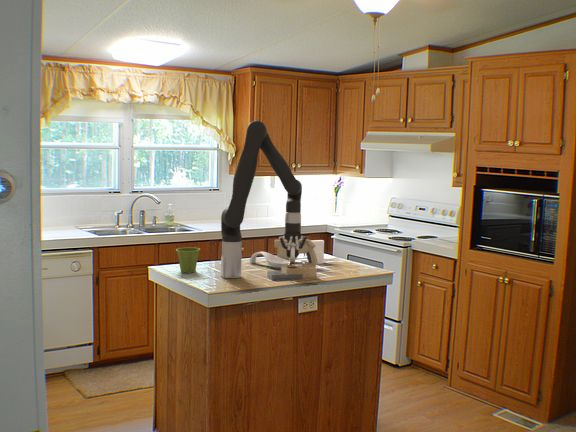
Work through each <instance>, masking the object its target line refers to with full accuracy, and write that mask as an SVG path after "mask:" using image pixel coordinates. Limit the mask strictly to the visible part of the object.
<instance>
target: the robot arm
mask: <svg viewBox="0 0 576 432" xmlns="http://www.w3.org/2000/svg"><path fill="white" fill-rule="evenodd" d="M260 150H261V151H262V153H263V154H264V156H265V158H266V159H267V161H268V163H269V165H270V166H271V169H272V170H273V171H274V173H275V174H276V176H277V177H278V178H279V180H280V182H281V184H282V186H283V188H284V189H285V192H286V193H287V194H286V195H287V198H286V199H287V200H286V204H285V217H284V223H285V224H284V234H283V236H279V237H278V240H280V242H281V245H282V247H283V248H284V249H286V256H287V257H288V258H290V246H291V243H296V251H295V258H296V259H298V257H299V255H298V250H299V249H302V248H303V245H304V243H305V241H306V240H308V239H307V236H304V235H303V234H302V232H301V231H302V229H301V228H302V212H301V211H302V209H301V207H302V203H301V201H302V190H303V186H302V185H303V184H302V183H301V181H299V179H296V177H295V175H294V174H293V172H292V169H291V167H290V166H289V164H288V162H287V161H286V159H285V158H284V157H283V156H282V154H281V153H280V152H279V150H278V148H276V146H275V145H274V143H273V141H272V139H271V137H270V135H269V133H268V129H267V127H266V124H265V123H264V122H262V121H261V120H253V121H251V122H250V123H248V126H247V128H246V134H245V139H244V144H243V148H242V151H241V154H240V156H239V159H238V162H237V165H236V168H235V172H234V175H233V182H232V196H231V199H230V202H229V205H228V207H226V208H224V209H223V210H222V213H221V216H220V217H221V219H220V221H221V222H220V223H221V225H220V227H221V229H220V230H221V233H220V234H221V238H222V239H221V242H222V243H221V256H220V276H221V277H222V278H223V279H239V278H241V277H242V250H243V249H242V243H243V241H242V239H243V237H242V233H241V225H242V223H243V222H244V218H245V210H246V207H247V206H246V205H247V202H248V198H249V195H250V192H251V190H252V186H253V182H254V179H255V175H256V172H257V167H258V159H259V152H260ZM284 240H287V246H286V245H285V243H284ZM299 240H301V242H300V244H298V241H299ZM298 245H299V246H298ZM297 256H298V257H297Z"/></svg>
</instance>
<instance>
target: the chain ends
mask: <svg viewBox="0 0 576 432" xmlns="http://www.w3.org/2000/svg"><path fill="white" fill-rule="evenodd" d="M317 269H318V268H317V267H314V266H312V265H293V264H292V265H288V266H281V270H270V271H267V272H266V273H267V275H266V277H267V278H268V279H269V280H271V281H289V280H290V281H291V280H292V281H293V280H315V279H317V272H318V270H317Z"/></svg>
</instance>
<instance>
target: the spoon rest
mask: <svg viewBox="0 0 576 432" xmlns="http://www.w3.org/2000/svg"><path fill="white" fill-rule="evenodd" d="M259 255H262V257H264V259H265V260H266V262H267V264H268V265H269V266H270V267H271V268H272V269H281V266H290V265H289V260H286V259H283V258H280V257H277V255H274V254H271V253H270V252H266V251H258V252H254V253H253V254H252V255H251V256H250V259H249V264H250V265H252V264H255V263H256V261H257V256H259Z"/></svg>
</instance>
